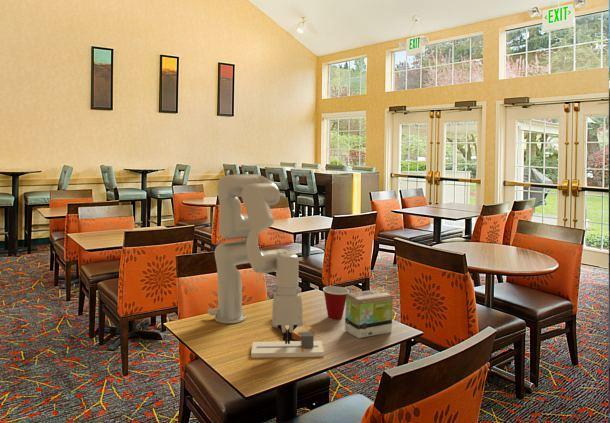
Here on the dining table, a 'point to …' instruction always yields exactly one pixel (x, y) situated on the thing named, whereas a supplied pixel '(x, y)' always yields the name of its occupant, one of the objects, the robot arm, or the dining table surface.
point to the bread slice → (297, 331)
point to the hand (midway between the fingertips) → (287, 342)
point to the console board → (285, 349)
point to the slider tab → (307, 339)
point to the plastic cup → (335, 301)
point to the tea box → (368, 313)
